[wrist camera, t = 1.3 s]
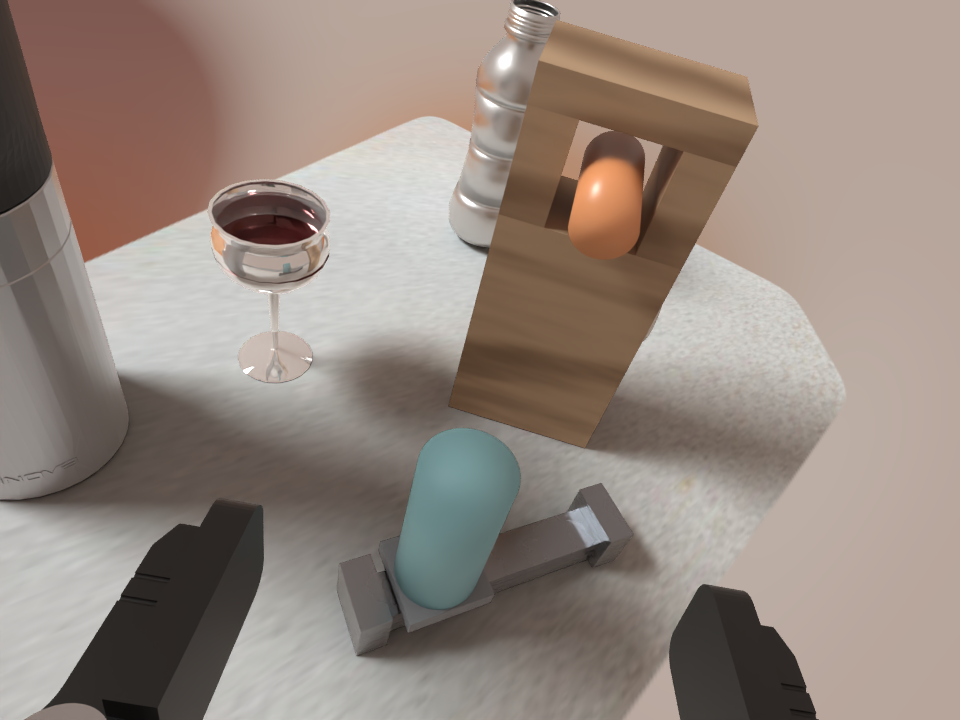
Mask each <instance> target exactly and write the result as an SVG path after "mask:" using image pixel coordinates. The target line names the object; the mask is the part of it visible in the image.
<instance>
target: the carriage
mask: <svg viewBox="0 0 960 720" xmlns="http://www.w3.org/2000/svg"><path fill="white" fill-rule="evenodd" d="M520 481H521V475H520V469H519V466H518V463H517V461H516V458H515V457H514V455H513V453H512V452H511V451H510V450H509V448H508V447H507V446H506V445H505V444H504V443H502V442H501V441H500V440H499V439H497V438H495V437H494V436H492V435H490V434H488V433H485V432H483V431H480V430H476V429H470V428H455V429H450V430H446V431H443V432H441V433H439V434H437V435H435V436H434V437H432V438H431V439H430V440H429V441H428V442H427V443H426V444H425V445H424V447H423V448H422V450H421V452H420V454H419V458H418V461H417V466H416V470H415V474H414V479H413V483H412V488H411V492H410V496H409V501H408V505H407V509H406V514H405V518H404V522H403V527H402V531H401V535H400V536H397V537H394V538H390V539H387V540H384V541H380V546H379V553H380V556H381V559H382V562H383V564H384V567H385V570H386V573H387V576H388V579H389V581H390V584H391V587H392V590H393V593H394V596H395V598H396V601H397V604H398V607H399V610H400V612H401V615H402V618H403V621H404V624H405V627H406V629H407V632H408V633H409V632H412V631H415V630H417V629H420V628H423V627H425V626H428V625H431V624H434V623H436V622H439V621H442V620H444V619H447V618H450V617H453V616H455V615H458V614H461V613H463V612H466V611H469V610H471V609H474V608H477V607H480V606H482V605H485V604H488V603H490V602H491V601H492V599H493V597H494V595H495V594H494V592H493V590H492V587H491V585H490V583H489V581H488V578H487V576H486V574H485V572H484V570H483V569H484V566H485V564H486V562H487V560H488V557H489V555H490V553H491V551H492V549H493V546H494V544H495V542H496V540H497V537H498V535H499V533H500V531H501V529H502V526H503V524H504V522H505V520H506V517H507V515H508V513H509V511H510V509H511V506H512V504H513V502H514V500H515V497H516V495H517V493H518V490H519V487H520Z"/></svg>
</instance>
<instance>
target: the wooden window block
mask: <svg viewBox="0 0 960 720" xmlns="http://www.w3.org/2000/svg"><path fill="white" fill-rule="evenodd" d="M579 120H581V121H585V122H588V123H591V124H594V125H598V126H601V127H604V128H608V129H611V130H614V131H618V132H621V133H624V134H628V135H631V136H635V137H638V138H641V139H644V140H647V141H651V142H654V143H657V144H661V145H663V147H662V149H661V152H660V154H659V156H658V159H657V161H656V163H655V166H654V168H653V170H652V172H651V175H650V177H649V179H648V181H647V184H646V186H645V189H644V191H643V194H642V208H641V222H640V234H639V237H638V240H637V242H636V244H635V245H634V246H633V248H632V249H631V250H630V251H628V252H627V253H626V254H624V255H622V256H620V257H617V258H614V259H607V260H600V259H595V258H591V257H588V256H586V255H584V254H583V253H581V252H580V251H579V250H577V248H576V247H575V246H574V245H573V243H572V242H571V240H570V237H569V233H568V225H569V220H570V215H571V211H572V206H573V202H574V198H575V193H576V189H577V184H578V180H574V179H571V178H568V177H564V176H561V174H562V171H563V168H564V165H565V162H566V159H567V156H568V153H569V150H570V147H571V144H572V140H573V137H574V135H575V131H576V128H577V125H578V122H579ZM757 128H758V122H757V118H756V113H755V109H754V104H753V101H752V96H751V91H750V87H749V83H748V78H747V77H745V76H742V75H739V74H736V73H732V72H729V71H726V70H722V69H719V68H715V67H712V66H709V65H706V64H702V63H699V62H696V61H692V60H689V59H686V58H682V57H679V56H676V55H672V54H669V53H665V52H662V51H659V50H655V49H652V48H649V47H645V46H642V45H639V44H635V43H632V42H629V41H625V40H622V39H619V38H615V37H612V36H609V35H605V34H602V33H598V32H595V31H591V30H588V29H585V28H582V27H578V26H575V25H572V24H569V23H565V22H562V21H558V20H556V22H555V24H554V27H553V29H552V31H551V33H550V36H549V38H548V40H547V42H546V45H545V47H544V49H543V51H542V54H541V56H540V58H539V61H538V64H537V68H536V72H535V76H534V80H533V84H532V87H531V91H530V95H529V99H528V103H527V107H526V110H525V114H524V118H523V122H522V126H521V130H520V133H519V137H518V141H517V145H516V149H515V153H514V156H513V160H512V164H511V168H510V172H509V176H508V179H507V183H506V187H505V191H504V195H503V199H502V202H501V206H500V210H499V214H498V218H497V222H496V225H495V229H494V233H493V237H492V241H491V245H490V248H489V252H488V256H487V260H486V264H485V268H484V271H483V275H482V279H481V283H480V287H479V291H478V294H477V298H476V302H475V306H474V310H473V314H472V317H471V321H470V325H469V329H468V333H467V337H466V340H465V344H464V348H463V352H462V356H461V359H460V363H459V367H458V371H457V375H456V379H455V382H454V386H453V390H452V394H451V398H450V402H449V405H448V406H449V407H453V408H456V409H459V410H462V411H466V412H469V413H472V414H475V415H479V416H482V417H485V418H488V419H492V420H495V421H498V422H501V423H505V424H508V425H511V426H514V427H518V428H521V429H524V430H527V431H531V432H534V433H537V434H540V435H544V436H547V437H550V438H553V439H557V440H560V441H563V442H566V443H570V444H573V445H576V446H579V447H583V448H585V447H586V445H587V443H588V442H589V440H590V438H591V436H592V434H593V432H594V430H595V429H596V427H597V425H598V423H599V421H600V419H601V417H602V416H603V414H604V412H605V410H606V408H607V406H608V404H609V403H610V401H611V399H612V397H613V395H614V393H615V391H616V390H617V388H618V386H619V384H620V382H621V380H622V378H623V377H624V375H625V373H626V371H627V369H628V367H629V365H630V364H631V362H632V360H633V358H634V356H635V354H636V352H637V351H638V349H639V347H640V345H641V343H642V342H643V341H644V340H645V339H646V338H647V337H648V336H649V334H650V333H651V331H652V329H653V327H654V325H655V323H656V320H657V318H658V315H659V313H660V310H661V307H662V304H663V302H664V301H665V299H666V297H667V295H668V293H669V291H670V289H671V288H672V286H673V284H674V282H675V280H676V278H677V276H678V275H679V273H680V271H681V269H682V267H683V265H684V263H685V262H686V260H687V258H688V256H689V254H690V252H691V250H692V249H693V247H694V245H695V243H696V241H697V239H698V237H699V236H700V234H701V232H702V230H703V228H704V226H705V224H706V223H707V221H708V219H709V217H710V215H711V213H712V211H713V209H714V208H715V206H716V204H717V202H718V200H719V199H720V197H721V195H722V193H723V191H724V189H725V187H726V186H727V184H728V182H729V180H730V178H731V176H732V174H733V173H734V171H735V169H736V167H737V165H738V163H739V161H740V160H741V158H742V156H743V154H744V152H745V150H746V148H747V146H748V145H749V143H750V141H751V139H752V137H753V135H754V134H755V132H756V129H757Z"/></svg>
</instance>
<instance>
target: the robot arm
mask: <svg viewBox="0 0 960 720" xmlns="http://www.w3.org/2000/svg"><path fill="white" fill-rule="evenodd" d="M128 423H129V416H128V408H127V404H126V401H125V398H124V394H123V391H122V388H121V384H120V381H119V378H118V374H117V371H116V367H115V363H114V360H113V357H112V354H111V350H110V347H109V344H108V340H107V337H106V334H105V330H104V327H103V324H102V320H101V317H100V314H99V311H98V307H97V304H96V301H95V297H94V294H93V291H92V287H91V284H90V281H89V278H88V274H87V271H86V268H85V264H84V261H83V258H82V254H81V251H80V248H79V245H78V242H77V238H76V235H75V231H74V228H73V225H72V221H71V219H70V215H69V212H68V210H67V206H66V203H65V199H64V196H63V193H62V190H61V186H60V183H59V180H58V176H57V173H56V170H55V166H54V163H53V160H52V155H51V151H50V148H49V145H48V141H47V138H46V135H45V132H44V129H43V125H42V122H41V119H40V115H39V111H38V108H37V104H36V100H35V97H34V93H33V89H32V85H31V82H30V78H29V74H28V71H27V67H26V64H25V60H24V57H23V53H22V49H21V46H20V43H19V39H18V36H17V32H16V29H15V26H14V22H13V18H12V15H11V11H10V8H9V4H8V0H0V499H16V500H20V499H27V498H34V497H41V496H44V495H47V494H51V493H54V492H58V491H61V490H63V489H66V488H68V487H70V486H72V485H74V484H77V483H79V482H81V481H82V480H84V479H86V478H87V477H89V476H90V475H92V474H93V473H95V472H96V471H98V470H99V469H100V468H101V467H102V466H103V465H104V464H105V463H107V462H108V461H109V460H110V459H111V458H112V457H113V455H114V454H115V453H116V451H117V450H118V449H119V447H120V446H121V444H122V442H123V440H124V438H125V435H126V433H127V429H128ZM263 561H264V546H263V508H262V506H261V505H256V504H251V503H245V502H239V501H233V500H228V499H222V498H219V499H217V500H216V501H215V502H214V504H213V505H212V507H211V508H210V510H209V512H208V514H207V515H206V517H205V519H204V521H203V522H202V524H201V526H200V527H197V526H191V525H186V524H178V525H177V526H176V527H175V528H173V529H172V530H171V531H170V532H168V533H167V534H166V535H164V536H163V537H162V538H161V539H159V540H158V541H157V542H156V543H154V544H153V545H152V547H151V548H150V550H149V551H148V553H147V555H146V556H145V558H144V559H143V561H142V562H141V564H140V566H139V567H138V569H137V570H136V572H135V576H134V578H131V580H130V581H129V583H128V585H127V586H126V588H125V589H124V591H123V592H122V594H121V598H120V600H119V601H117V602H116V603H115V605H114V607H113V608H112V610H111V611H110V613H109V614H108V616H107V618H106V619H105V621H104V622H103V624H102V626H101V627H100V629H99V630H98V632H97V633H96V635H95V637H94V638H93V640H92V641H91V643H90V644H89V646H88V648H87V649H86V651H85V652H84V654H83V655H82V657H81V659H80V660H79V662H78V663H77V665H76V667H75V668H74V670H73V671H72V673H71V674H70V676H69V678H68V679H67V681H66V682H65V684H64V685H63V687H62V688H61V690H60V691H59V692H58V694H57V695H56V696H55V697H54V698H53V699H52V701H51V702H50V703H49V704H48V705H47V706H45V707H44V708H43V709H42V710H41V711H39V712H37V713H35V714H33V715H31V716H29V717H28V718H26V719H25V720H203V717H204V715H205V713H206V710H207V708H208V706H209V703H210V701H211V699H212V696H213V694H214V692H215V689H216V687H217V684H218V682H219V680H220V677H221V675H222V673H223V670H224V668H225V666H226V663H227V661H228V659H229V656H230V654H231V651H232V649H233V647H234V644H235V642H236V640H237V637H238V635H239V633H240V630H241V628H242V626H243V623H244V621H245V619H246V616H247V614H248V611H249V609H250V607H251V604H252V602H253V600H254V597H255V595H256V592H257V589H258V586H259V583H260V579H261V575H262V569H263ZM669 661H670V669H671V674H672V679H673V684H674V689H675V695H676V699H677V705H678V710H679V715H680V719H681V720H818V719H816V711H815V708H814V706H813V703H812V701H811V698H810V695H809V693H806V685H805V682H804V679H803V677H802V674H801V671H800V669H799V666H798V663H797V661H796V658H795V656H794V654H793V653H792V652H791V650H790V649H789V648H788V647H787V645H786V644H785V642H784V641H783V640H782V638H781V637H780V636H779V634H778V633H777V632H776V630H775V629H774V628H773V627H768V626H762V625H760V622H759V619H758V616H757V613H756V610H755V607H754V604H753V602H752V600H751V597H750V596H749V595H748V593H746V592H745V591H741V590H735V589H729V588H723V587H718V586H712V585H706V584H703V585H701V586H700V587H699V588H698V590H697V591H696V593H695V595H694V597H693V598H692V600H691V602H690V604H689V606H688V607H687V609H686V611H685V613H684V614H683V616H682V618H681V620H680V621H679V623H678V625H677V627H676V628H675V630H674V632H673V635H672V638H671V642H670V650H669Z"/></svg>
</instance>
